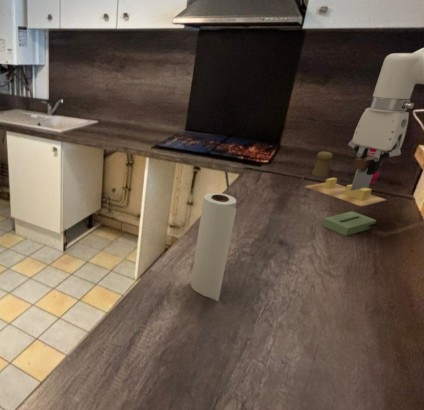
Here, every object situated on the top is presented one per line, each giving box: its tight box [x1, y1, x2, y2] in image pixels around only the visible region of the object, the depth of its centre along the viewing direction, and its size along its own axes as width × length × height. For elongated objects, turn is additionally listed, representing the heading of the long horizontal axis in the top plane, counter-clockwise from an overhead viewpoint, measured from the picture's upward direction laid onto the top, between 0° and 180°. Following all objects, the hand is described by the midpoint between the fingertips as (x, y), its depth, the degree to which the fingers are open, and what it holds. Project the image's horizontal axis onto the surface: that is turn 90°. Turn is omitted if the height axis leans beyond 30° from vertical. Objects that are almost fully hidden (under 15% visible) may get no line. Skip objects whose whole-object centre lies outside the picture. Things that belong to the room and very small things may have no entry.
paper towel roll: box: [190, 192, 238, 302], centre depth 74 cm, size 7×6×21 cm
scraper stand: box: [321, 210, 377, 237], centre depth 105 cm, size 7×13×2 cm, turn 114°
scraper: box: [350, 156, 384, 191], centre depth 100 cm, size 2×9×9 cm, turn 114°
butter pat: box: [324, 177, 338, 189], centre depth 131 cm, size 2×4×4 cm, turn 114°
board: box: [305, 181, 387, 207], centre depth 128 cm, size 20×14×2 cm
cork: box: [310, 151, 333, 178], centre depth 144 cm, size 6×6×11 cm
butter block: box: [344, 183, 373, 201], centre depth 123 cm, size 6×4×4 cm, turn 24°
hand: (365, 172), depth 100 cm, fingers closed on scraper, 2 cm apart
